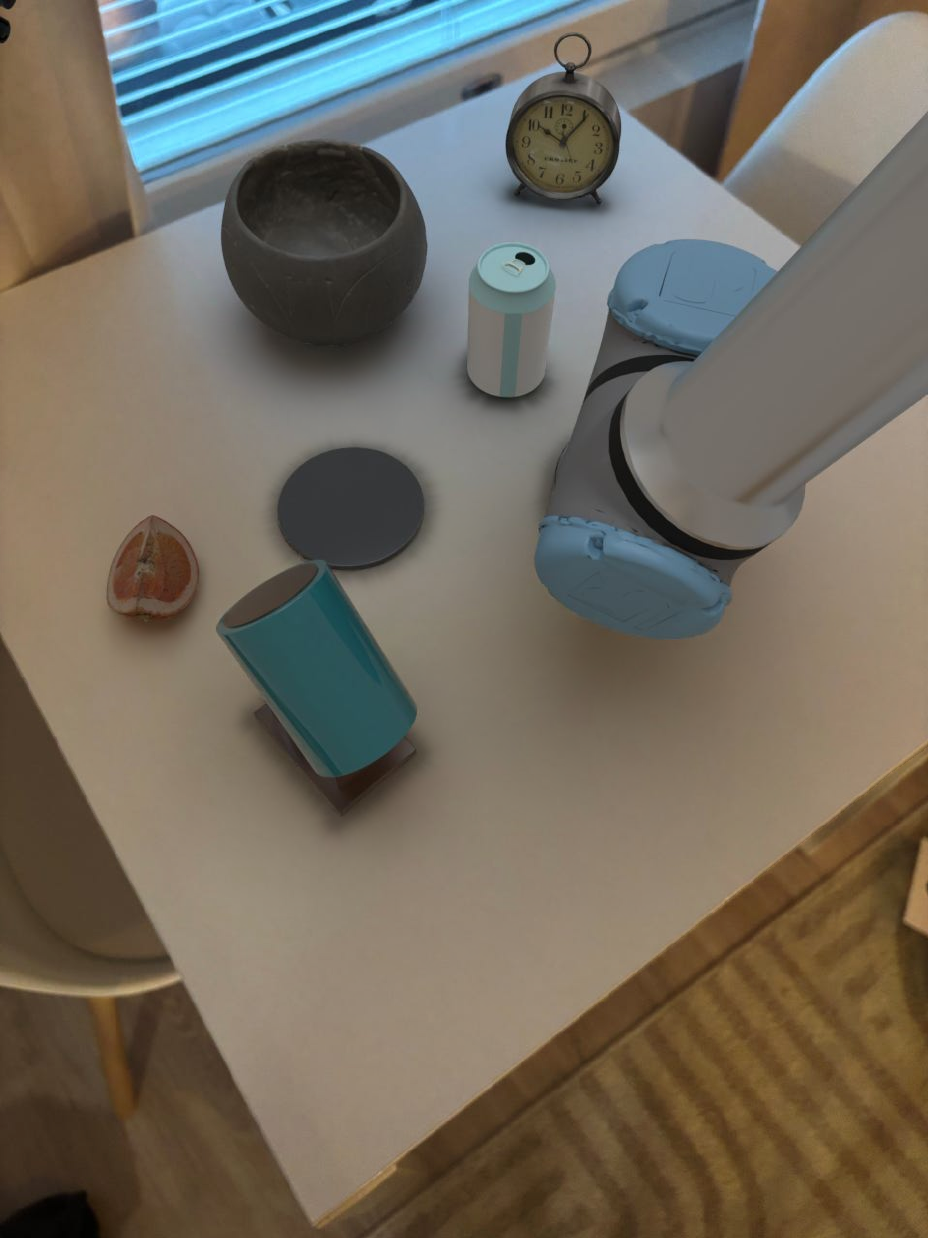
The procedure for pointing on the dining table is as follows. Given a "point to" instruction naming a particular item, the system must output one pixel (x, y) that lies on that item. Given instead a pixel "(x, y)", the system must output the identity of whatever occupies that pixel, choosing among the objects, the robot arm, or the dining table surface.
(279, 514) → the coaster
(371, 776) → the cradle
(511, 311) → the can
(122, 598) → the fruit slice
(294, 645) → the cup
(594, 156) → the alarm clock
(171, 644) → the dining table surface
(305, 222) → the bowl
